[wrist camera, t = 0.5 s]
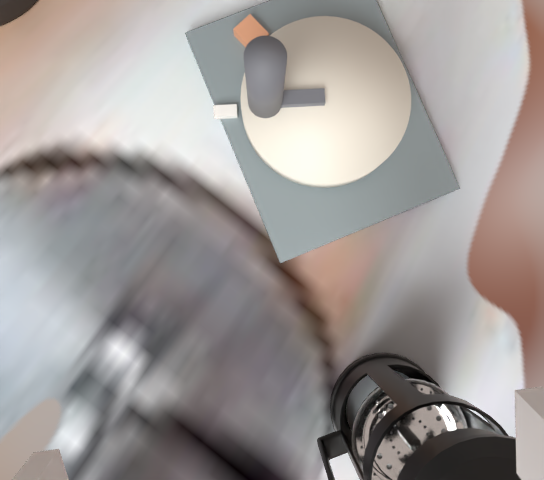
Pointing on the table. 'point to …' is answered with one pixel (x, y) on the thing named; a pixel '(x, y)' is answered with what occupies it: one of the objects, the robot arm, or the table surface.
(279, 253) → the dial board
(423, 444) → the french press
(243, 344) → the table surface
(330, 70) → the dial
